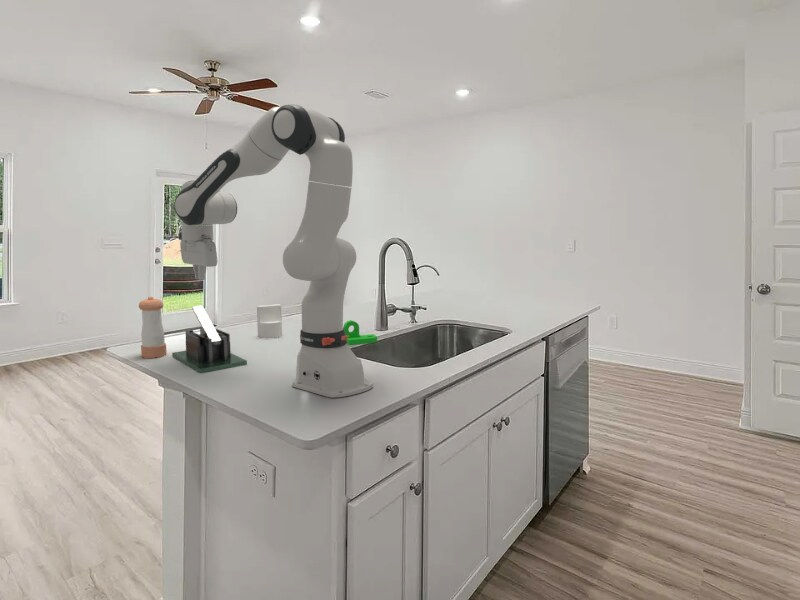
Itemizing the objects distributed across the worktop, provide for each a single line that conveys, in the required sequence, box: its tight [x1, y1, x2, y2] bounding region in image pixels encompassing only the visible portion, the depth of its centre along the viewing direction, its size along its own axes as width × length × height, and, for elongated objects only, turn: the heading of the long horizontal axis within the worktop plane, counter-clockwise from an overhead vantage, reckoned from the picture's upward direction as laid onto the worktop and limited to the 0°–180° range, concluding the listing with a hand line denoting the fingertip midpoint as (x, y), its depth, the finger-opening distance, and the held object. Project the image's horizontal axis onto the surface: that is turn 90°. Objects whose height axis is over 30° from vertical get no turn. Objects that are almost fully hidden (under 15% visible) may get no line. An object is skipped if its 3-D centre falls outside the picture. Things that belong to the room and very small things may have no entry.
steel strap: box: [192, 305, 223, 346], centre depth 152 cm, size 18×3×1 cm
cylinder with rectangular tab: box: [256, 303, 283, 339], centre depth 187 cm, size 9×9×12 cm
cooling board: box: [171, 326, 248, 374], centre depth 153 cm, size 24×14×9 cm, turn 43°
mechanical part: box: [343, 319, 378, 346], centre depth 180 cm, size 12×6×8 cm, turn 115°
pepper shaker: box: [138, 296, 168, 359], centre depth 157 cm, size 7×7×19 cm
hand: (200, 279), depth 152 cm, fingers closed
